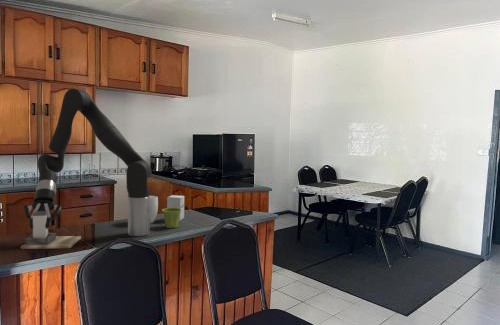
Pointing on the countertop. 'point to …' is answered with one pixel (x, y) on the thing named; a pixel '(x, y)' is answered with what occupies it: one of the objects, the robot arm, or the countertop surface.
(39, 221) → the block
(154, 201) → the mug
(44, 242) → the board
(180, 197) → the supplement box
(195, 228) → the countertop surface
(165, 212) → the plant pot
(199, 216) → the countertop surface
